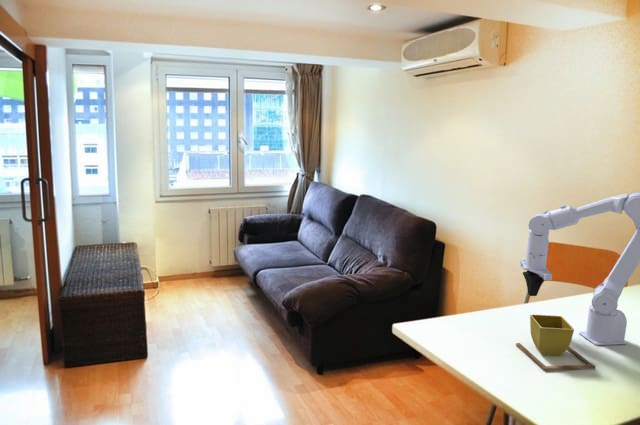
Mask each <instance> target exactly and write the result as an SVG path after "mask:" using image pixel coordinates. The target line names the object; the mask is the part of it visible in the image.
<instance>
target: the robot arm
mask: <svg viewBox="0 0 640 425" xmlns="http://www.w3.org/2000/svg"><path fill="white" fill-rule="evenodd" d="M623 211H624V213H625V214H626V215H627V216H628V217H629V219H630V220H632V222H633V224H634V226H635V228H636V230H635V231H634V233H633V235H632V237H631V238H630V240H629V242H628V243H627V245H626V247H624V250H623V252H622V253H621V255H620V256H619V257H618V259H617V261H616V263H615V264H614V266H613V268H612V269H611V271H610V272H609V274H608V276H607V277H605V279H604V280H603V282H602V283H600V284H599V285H597V286H596V287H595V288H594V289H593V291H592V292H593V294H592V295H593V296H592V299H591V304H590V305H589V306H588V307H589V309H588V314H587V316H588V317H587V324H586V331H578V334H579V335H581V336H582V337H583V338H585V339H587V341H589V342H591V343H592V344H594V345H595V346H609V345H610V346H611V345H613V346H614V345H615V346H616V345H626V344H627V342H626V341H625V338H626V331H627V324H628V321H627V320H628V319H627V316H626V315H625V313H624V312H623V311H622V310H619V309H618V306H619V303H618V301H619V298H620V297H621V295H622V292H623V290H624V288H625V286H626V285H627V283H628V282H629V280H630V279H631V277H632V275H633V273H634V272H635V270H636V268H637V267H639V266H638V265H639V264H640V191H639V190H638V191H633V192H630V193H622V194H617V195H613V196H610V197H605V198H604V199H600V200H597V201H594V202H591V203H589V204H586V205H581V206H579V207H574V206H572V205H566V204H562V205H560V206H559V208H557V209H553V210H549V211H548V210H544V211H543V213H537V214H535V215H533V217H532V218H530V220H529V222H528V230H529V232H528V234H529V235H528V238H527V248H526V257H525V259H521V260H519V267H521V269H522V270H524V271H523V272H522V275H523V277H524V280H525V284H526V290H527V294H528V296H529V297H537V296H538V294H539V291H540V289H541V286H542V285H543V284H544V282H545V281H546V282H547V281H549V282H550V281H552V279H553V274H552V273H551V272H550V271H549V269H548V268H547V259H548V251H549V242H550V239H549V235H550V231H556V230H560V229H563V228H567V227H570V226H575V225H577V224H578V222H579V220H580V219H583V218H587V217H591V216H596V215H600V214H603V213H604V214H605V213H608V212H611V213H615V214H619V215H622V214H623Z"/></svg>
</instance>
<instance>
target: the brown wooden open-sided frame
mask: <svg viewBox="0 0 640 425" xmlns="http://www.w3.org/2000/svg"><path fill="white" fill-rule="evenodd" d="M515 346H516V347H517V348H518V349H519V350H520V351H521V353H523V354H525V355H526V356H527V358H529V359H530V360H531V361H532V362H533V363H534V364H535V365H536V366H538V367H539V369H541V370H542V371H543V372H553V371H557V372H559V371H579V370H595V369H596V365H595V364H593V363H592V362H591V361H590V360H588V359H587V358H585V357H584V356H583V355H581V354H580V353H579V352H578V351H576V350H575V349H573V348H572V347H570V346H569V347H568V349H567V350H566V351H567V352H569V353H570V354H571V355H573V356H574V357H575V358H577V360H579V361H580V362H581V363H583V364H563V365H545V364H544V363H543V362H542V361H541V360H539V359H538V358H537V357H536V356H535V355H534V354H533V353H531V352H530V351H529V350H528V349H527V348H526V347H525V346H524V345H523V344H521V343H520V342H517V343H515Z"/></svg>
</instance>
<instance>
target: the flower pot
mask: <svg viewBox="0 0 640 425" xmlns="http://www.w3.org/2000/svg"><path fill="white" fill-rule="evenodd" d="M529 317H530V318H529V320H530V322H529V323H530V326H529V327H530V335H531V339H532V341H533V344H534V347H535V348H536V349H537V350H538V352H539V354H540V355H543V356H555V357H557V356H558V357H561V356H562V355H563V354H565V353H566V351H567V349H568V347H570V344H571V342H572V339H573V336H574V331H575V328H574V327H573V326H572V325H571V324H570V323H569V322H568V321H567V320H566V319H565V318H564V317H563V316H561V315H546V314H530V315H529Z"/></svg>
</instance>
